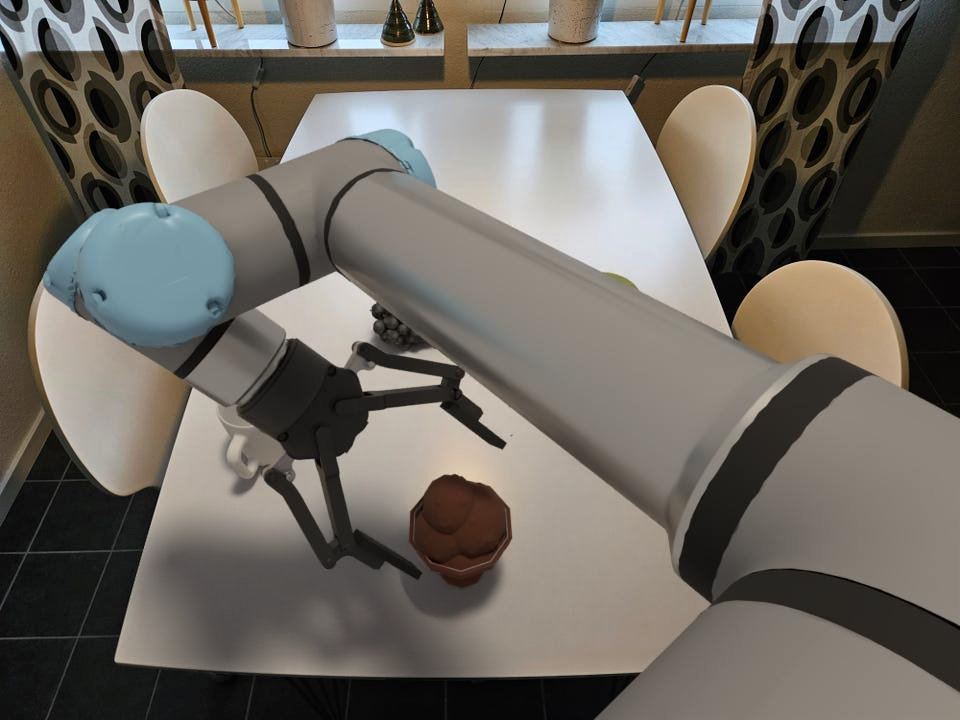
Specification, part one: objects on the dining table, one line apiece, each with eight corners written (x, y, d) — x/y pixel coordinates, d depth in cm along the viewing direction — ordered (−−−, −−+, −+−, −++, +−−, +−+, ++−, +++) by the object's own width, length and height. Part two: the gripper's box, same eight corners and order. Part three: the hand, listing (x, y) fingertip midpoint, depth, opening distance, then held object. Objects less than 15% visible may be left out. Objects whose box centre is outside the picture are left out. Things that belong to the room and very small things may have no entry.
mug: (278, 500, 80) (258, 454, 72) (215, 488, 81) (189, 442, 74) (313, 427, 87) (298, 378, 80) (255, 416, 88) (234, 368, 81)
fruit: (470, 278, 94) (366, 280, 93) (473, 329, 91) (365, 332, 90) (468, 307, 102) (372, 309, 101) (471, 355, 99) (372, 357, 98)
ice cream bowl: (414, 614, 70) (402, 551, 59) (417, 521, 78) (407, 450, 67) (511, 611, 71) (517, 548, 60) (505, 519, 78) (509, 448, 67)
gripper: (344, 252, 56) (511, 389, 65) (157, 495, 51) (365, 610, 60) (368, 244, 50) (551, 398, 58) (157, 524, 45) (391, 648, 53)
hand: (457, 506), depth 59 cm, fingers open, 13 cm apart
